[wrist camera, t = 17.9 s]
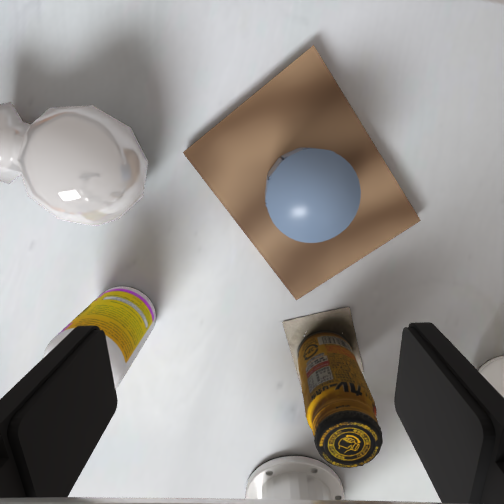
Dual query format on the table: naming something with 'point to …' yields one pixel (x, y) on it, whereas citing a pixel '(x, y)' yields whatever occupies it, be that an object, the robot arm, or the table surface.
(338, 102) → the post base
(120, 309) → the supplement bottle
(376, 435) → the condiment
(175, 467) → the table surface
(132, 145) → the potion bottle
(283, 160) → the cap
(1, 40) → the table surface
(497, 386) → the lidded jar
